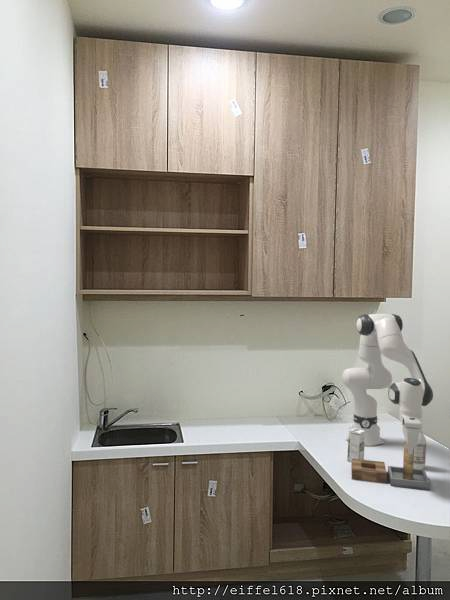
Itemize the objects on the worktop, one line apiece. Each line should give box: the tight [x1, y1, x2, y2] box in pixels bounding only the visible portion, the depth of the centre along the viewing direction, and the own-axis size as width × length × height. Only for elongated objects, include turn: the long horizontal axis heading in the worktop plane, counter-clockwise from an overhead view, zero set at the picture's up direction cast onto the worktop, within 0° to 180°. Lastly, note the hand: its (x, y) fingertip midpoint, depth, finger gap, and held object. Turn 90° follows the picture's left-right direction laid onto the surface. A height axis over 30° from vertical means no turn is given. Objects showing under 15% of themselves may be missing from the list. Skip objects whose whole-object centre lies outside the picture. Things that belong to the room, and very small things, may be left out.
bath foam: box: [413, 423, 427, 470], centre depth 227 cm, size 7×7×20 cm
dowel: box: [402, 443, 414, 480], centre depth 210 cm, size 4×4×14 cm
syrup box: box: [346, 428, 365, 463], centre depth 232 cm, size 6×6×14 cm
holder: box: [350, 459, 388, 484], centre depth 216 cm, size 14×14×4 cm
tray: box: [387, 465, 431, 491], centre depth 210 cm, size 15×15×3 cm
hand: (408, 450), depth 210 cm, fingers open, 8 cm apart
